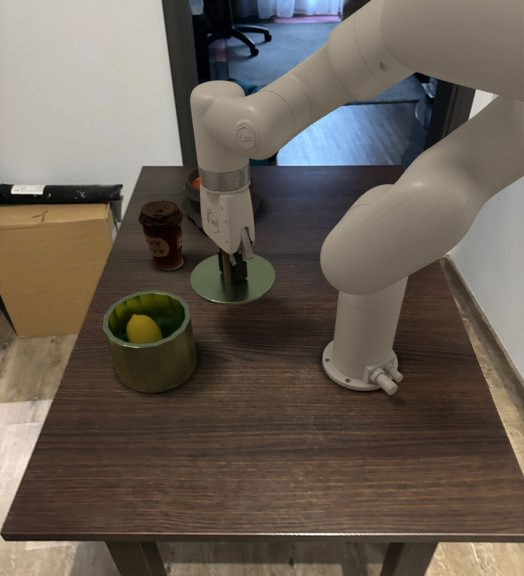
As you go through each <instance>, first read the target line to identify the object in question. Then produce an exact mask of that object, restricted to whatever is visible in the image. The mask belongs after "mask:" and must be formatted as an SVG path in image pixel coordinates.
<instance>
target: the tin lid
mask: <svg viewBox="0 0 524 576" xmlns="http://www.w3.org/2000/svg"><path fill="white" fill-rule="evenodd" d="M221 251H222V260H223V270H224V272H221V271H220V270H219V262H218V254H215V255H212V256H209V257H207V258H205V259H203V260H202V261H200V262H199V263H198V264H197V265H196V266H195V267H194V269H192V271H191V273H190V278H189V279H190V287H191V289H192V291H193V292H194V294H195V295H196V296H197V297H199V298H200V299H202V300H203V301H206V302H208V303H211V304H215V305H220V306H239V305H245V304H248V303H249V304H250V303H252V302H255V301H257V300H259V299H261V298H262V297H264V296H265V295H266V294H268V293H269V292H270V291H271V290H272V288H273V287H274V285H275V282H276V271H275V268H274V266H273V265H272V264H271V262H270V261H269V260H267V259H266V258H264V257H263V256H260V255H258V254H255V253H253V254H254V258H253V259H251V260H248V261H247V273H248V277H247V278H245V279H243V280H240V281H238V282H235V283H232V282H231V281H230V275H229V264H228V263H229V262H231V261H230V255H229V254H228V253H226V252H225V251H224V250H223V249H222V248H221ZM239 253H241V250H237V252H235V255H237V254H239Z"/></svg>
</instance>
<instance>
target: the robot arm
mask: <svg viewBox="0 0 524 576" xmlns="http://www.w3.org/2000/svg"><path fill="white" fill-rule="evenodd" d="M327 36H328V37H327V40H326V42H324V44H322V45H321V46H320V47H319V48H318V49H317V50H316V51H314V52H313V53H312V54H310V55H309V56H307V57H306V58H305V59H304V60H302V61H301V62H299V63H298V64H297V65H296V66H294V67H293V68H291V69H290V70H288V71H287V72H286V73H284V74H283V75H281V76H280V77H279V78H276V79H275V80H274V81H271V82H270V83H269V84H267V85H266V86H264V87H262V88H261V89H259V90H257V91H256V92H255V93H251V94H249V95H246V93H245V91H244V89H243V88H242V87H241V85H239V84H238V83H236V82H233V81H229V80H211V81H205V82H202V83H200V84H198V85H197V86H195V87H194V88H193V89H192V92H191V94H190V98H189V102H190V103H189V104H190V111H191V121H192V126H193V127H192V128H193V135H194V143H195V151H196V160H197V168H199V176H200V203H201V216H202V226H203V229H202V230H203V232H204V233H205V234H206V235H207V236H208V237H209V238H210V239H211V240H212V241H213V242H214V245H215V249H216V251H217V253H216V254H217V255H218V262H219V270H220V271H221V272H224V270H223V260H222V251H221V248H222V249H223V250H224V251H225V252H226V253H228V254H229V255H230V261H231V262H229V263H228V264H229V275H230V281H231V282H232V283H235V282H238V281H240V280H243V279H245V278H247V277H248V273H247V261H248V260H251V259H253V258H254V254H255V253H254V251H253V248H252V247H254V245H255V242H256V241H255V240H256V236H255V235H256V232H255V221H254V220H255V219H254V213H253V209H252V203H251V197H250V192H249V188H248V186H249V184H250V174H251V172H250V160H255V161H262V160H267V159H270V158H271V157H273V156H275V154H277V153H278V152H279V151H280V150H281V149H283V148H284V147H285V146H286V145H287V144H289V143H290V142H291V141H292V140H293V139H295V138H296V137H297V136H299V135H300V134H301V133H302V132H304V131H305V130H306V129H308V128H309V127H311V126H312V125H313V124H315V123H316V122H318V121H320V120H321V119H323V118H324V117H326V116H328V115H329V114H331V113H333V112H334V111H336V110H337V109H340V108H342V106H345V105H346V104H348V103H350V102H352V101H355V100H356V101H360V102H367V101H370V100H372V99H374V98H376V97H378V96H379V95H381V94H382V93H384V92H385V91H387V90H389V89H390V88H392V87H394V86H395V85H397V84H398V83H400V82H402V81H403V80H405V79H407V78H408V77H411V75H413V74H415V73H419V74H422V75H424V76H427V77H431V78H434V79H437V80H441V81H444V82H447V83H451V84H456V85H458V86H462V87H465V88H470V89H473V90H478V91H482V92H485V93H489V94H492V95H496V97H495V98H494V99H492V100H491V101H490V102H489V103H487V105H485V106H484V107H483V108H482V109H481V110H479V112H477V113H476V114H475V115H474V116H472V117H471V118H469V119H468V120H466V121H465V122H464V123H463V124H461V125H459V126H458V127H457V128H456V129H454V130H453V131H452V132H451V133H449V134H448V135H446V136H445V137H444V138H442V139H440V140H439V141H438V142H436V143H435V144H433V145H432V146H430V147H429V148H427V149H426V150H424V151H423V152H422V153H421V152H420V154H419V155H418V156H417V157H416V158H415V159H414V160H413V161H412V162H411V164H410V165H409V166H408V167H407V169H405V171H404V172H403V173H402V174H401V176H400V177H399V178H398V180H397V181H396V182H394V184H392V183H390V184H389V183H387V184H386V183H385V184H380V185H377V186H374V187H372V188H370V189H369V190H367V191H366V192H364V193H363V194H362V195H361V196H359V197H358V199H357V200H356V201H355V202H354V203H353V204H352V205H351V206H350V207H349V208H348V210H346V212H345V213H344V215H343V217H341V219H340V220H339V222H338V223H336V225H335V226H334V227H333V228H332V230H330V232H329V233H328V235H327V236H326V238H325V239H324V241H323V243H322V246H321V250H320V256H319V262H320V268H321V272H322V274H323V276H324V278H325V280H326V281H327V282H328V283H329V284H330V285H331V286H332V287H333V288H334V289H335V290H337V291H338V297H337V304H336V305H337V306H336V314H335V315H336V316H335V324H334V334H333V340H332V341H330V342H329V343H328V344H327V345H326V346H325V348H324V350H323V352H322V362H321V363H322V367H323V370H324V372H325V373H326V375H327V376H328V378H329V379H331V380H332V381H333V382H334V383H336V384H337V385H339V386H341V387H344V388H346V389H348V390H353V391H360V392H361V391H362V392H366V391H375V390H378V389H382V390H383V391H384V392H385V393H386V394H388V396H392V395H394V394H395V393H396V392H397V390H398V389H399V386H398V385H397V383H400V382H402V380H403V379H404V375H403V374H402V373H401V372H399V371H398V367H399V362H398V357H397V354H396V353H395V351H394V350H393V346H394V341H395V336H396V333H397V328H398V323H399V318H400V314H401V309H402V305H403V302H404V301H403V300H404V297H405V294H406V293H405V292H406V289H407V284H408V280H409V277H410V276H411V275H412V274H414V273H416V272H418V271H420V270H421V269H424V268H425V267H427V266H429V265H431V264H433V263H434V262H436V261H437V260H440V259H441V258H442V257H444V256H445V255H447V254H448V253H449V252H451V251H452V250H453V249H454V248H455V247H456V246H458V244H459V243H460V242H461V241H462V240H463V239H464V238H465V237H466V235H467V234H468V232H469V231H470V229H471V227H472V226H473V224H474V222H475V220H476V218H477V217H478V215H479V213H480V212H481V209H482V208H483V207H484V205H485V204H486V203H487V202H488V201H489V200H490V199H492V198H493V197H494V196H496V195H497V194H498V193H500V192H501V191H503V190H505V189H506V188H507V187H509V186H511V185H512V184H514V183H515V182H517V181H518V180H520V179H522V178H523V177H524V0H370V1H368V2H367V3H365V4H364V5H363V6H362V7H361V8H359V9H357V10H356V11H355V12H353V13H352V14H350V16H348V17H347V18H345V19H344V20H342V21H341V22H340V23H338V24H337V25H336V26H335V27H334V28H333V29H331V31H330V32H329V33H328V35H327ZM237 250H239V251H240V252H241V253H239V254H237V255H235V252H237ZM393 380H394V381H395V382H396V383H395V382H394V381H393Z"/></svg>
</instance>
